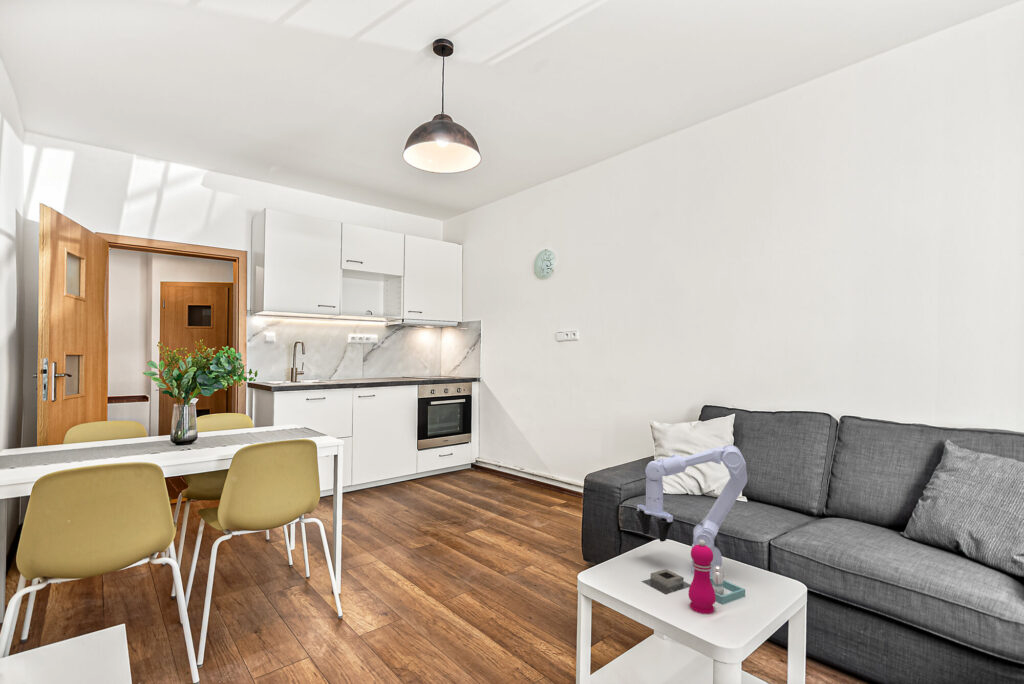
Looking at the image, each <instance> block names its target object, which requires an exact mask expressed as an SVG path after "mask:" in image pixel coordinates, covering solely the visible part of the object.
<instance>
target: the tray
mask: <svg viewBox="0 0 1024 684" xmlns="http://www.w3.org/2000/svg"><path fill="white" fill-rule="evenodd" d="M710 580H711V584H712V586H713V577H710ZM723 587H724V590H728V591H730V592H729V593H725V594H724V595H722V596H721V595H719V594H717V593H715V596H716V601H715V603H718V604H720V605H725V604H728V603H730V602H734V601H736V600H739V599H742V598H745V597H746V589H745V588H743V587H740V586H739V585H737V584H733V583H731V582H729V581H727V580H725V579H723Z"/></svg>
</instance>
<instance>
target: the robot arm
mask: <svg viewBox="0 0 1024 684" xmlns="http://www.w3.org/2000/svg"><path fill="white" fill-rule="evenodd" d="M710 462H712V463H715V464H718V465H721V463H722V464H723V465H724V467H726V469H727V470H728V473H729V479H728V481H726V482H727V483H726V484H725V485H724V486H723V488H722V491H721V492H720V493H719V496H718V497H717V498H716V500H715V502H714V503H713V505H712V507H711V508H710V510H709V512H708V513H707V515H705V517H704V518H702V520H701V522H699V523H697V524H696V525H695V526H694V528H693V531H692V535H693V539H692V542H693V543H692V544H691V549H692V548H693V547H694V546H695V545H699V540H704V541H705V546H707V547H709V548H710V549H711V550H712V552H713V561H712V562H711V570H710V578H711V577H713V575H712V569H713V567H714V566H715V565H719V566H721V567H722V568H723V565H722V564H723V562H722V561H723V557H722V553H721V551H720V549H719V548H718V547H716V545H715V539H716V537H717V535H718V531H719V528H720V526H721V525H722V524H723V522H724V520H725V519H726V517H727V516H728V514H729V512H730V510H731V509H732V507H733V506H734V505H735V502H736V501H737V499H738V498H739V496H740V495H741V493H742V491H743V490H744V488H745V487H746V485H747V483H748V473H747V462H746V460H745V458H744V456H743V454H742V451H740V449H739V448H738V447H737V446H735V445H731V444H727V445H725V446H716V447H713V448H709V449H706V450H703V451H700V452H697V453H694V454H690V455H686V456H682V455H679V454H675V453H673V454H671V455H670V456H669V457H665V458H657V460H652V461H649V462H648V464H647V465H646V467H645V470H644V471H645V475H646V478H645V481H646V482H645V505H644V504H637V506H636V511H637V512H636V517H637V518H638V520H639V523H640V525H641V531H642V533H643V534H642V535H649V534H650V526H651V525H650V524H651V520H652V516H653V517H656V518H659V519H658V520H656V523H657V524H656V525H657V527H658V534H659V535H658V536H659V537H658V538H659V542H661V543H662V542H665V541H667V538H668V533H669V531H670V528H671V526H672V525H673V523H674V515H672V514H670V513H669V512H668V511H666V510H664V484H663V477H668V476H669V477H670V476H672V475H676V474H680V473H685V471H686V469H687V468H688V467H693V466H696V465H701V464H705V463H706V464H707V463H710ZM693 561H694V560H693V559H692V558H691V573H692V574H693V575H694V568H693ZM724 577H725V574H723V578H724Z"/></svg>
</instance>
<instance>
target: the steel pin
mask: <svg viewBox="0 0 1024 684" xmlns="http://www.w3.org/2000/svg"><path fill="white" fill-rule="evenodd" d="M712 575H713V585H712V586H713V589H714V591H715V593H717V594H719V595H721V596H723V595H725V594H724V591H725V588H724V587H723V580H724V577H723V575H724V569H723V566H722V567H721V566H719V565H715V566H714V567H713V569H712Z"/></svg>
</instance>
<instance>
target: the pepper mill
mask: <svg viewBox="0 0 1024 684" xmlns="http://www.w3.org/2000/svg"><path fill="white" fill-rule="evenodd" d="M690 557H691V560H692V559H693V560H694V561H693V568H694V574H693V578H692V582H691V583H690V587H688V588H689V589H688V593H687V594H688V599H689V600H690V603H689V606H690V607H689V608H690V609H691V610H693V611H694V612H695V613H698V614H702V615H703V614H704V615H708V614H709V615H710V614H713V613H714V612H715V607H714V606H713V605H715V603H716V596H715V591H714V589H713V585H712V584H711V580H710V578H711V577H710V570H711V562H712V561H713V552H712V550H711V549H710V548H709V547H707V546H705V541H704V540H699V545H695V546H694V547H693V548H692V547H691V550H690Z"/></svg>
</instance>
